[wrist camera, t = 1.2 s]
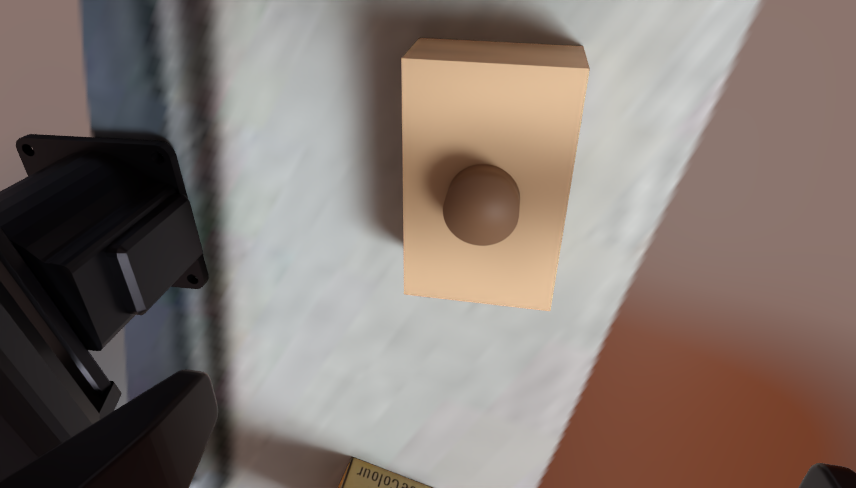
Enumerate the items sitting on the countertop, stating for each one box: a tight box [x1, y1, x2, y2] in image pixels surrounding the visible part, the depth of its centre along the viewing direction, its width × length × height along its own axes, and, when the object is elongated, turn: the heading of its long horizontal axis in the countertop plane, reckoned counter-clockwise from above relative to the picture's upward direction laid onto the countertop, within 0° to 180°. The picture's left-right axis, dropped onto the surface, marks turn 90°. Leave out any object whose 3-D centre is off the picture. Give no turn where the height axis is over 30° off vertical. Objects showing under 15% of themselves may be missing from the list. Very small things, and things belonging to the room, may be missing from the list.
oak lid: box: [401, 38, 590, 311], centre depth 18 cm, size 8×5×4 cm, turn 179°
